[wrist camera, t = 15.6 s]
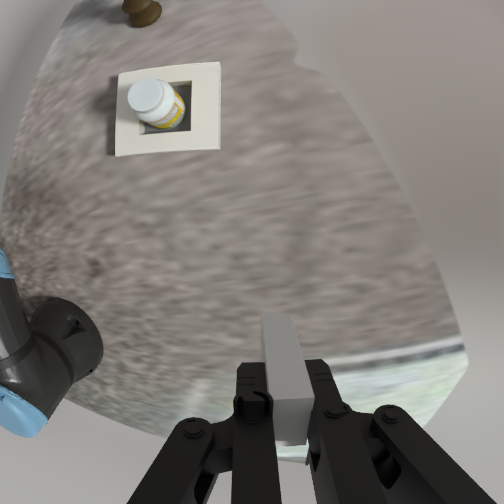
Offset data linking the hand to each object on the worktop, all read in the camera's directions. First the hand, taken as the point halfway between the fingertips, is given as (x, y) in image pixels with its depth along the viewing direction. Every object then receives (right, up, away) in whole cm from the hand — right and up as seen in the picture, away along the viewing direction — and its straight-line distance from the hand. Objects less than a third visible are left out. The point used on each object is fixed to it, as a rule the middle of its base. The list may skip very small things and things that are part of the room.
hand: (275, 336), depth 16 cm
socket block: (-12, +24, +21) cm, 34 cm away
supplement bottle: (-13, +23, +21) cm, 34 cm away
